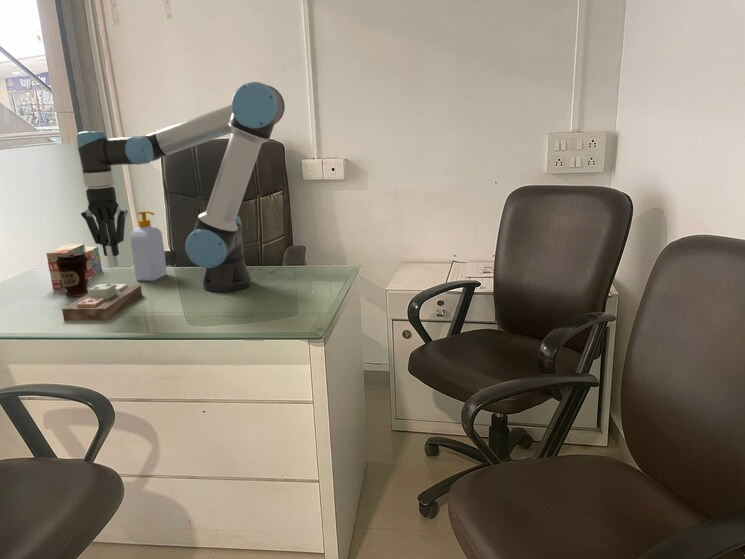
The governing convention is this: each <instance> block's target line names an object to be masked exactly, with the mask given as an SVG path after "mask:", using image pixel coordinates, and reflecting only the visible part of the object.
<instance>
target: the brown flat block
mask: <svg viewBox="0 0 745 559" xmlns="http://www.w3.org/2000/svg"><path fill="white" fill-rule="evenodd" d="M142 296H143V292H142V285H141V284H140V285H139V284H136V285H135V284H133V285H132V284H131V285H129V284H127V288H126V289H124V290H123V291H121V292H116V295H114V296H113V297H111V298H109V299H104V301H105V302H104V303H102V304H101V305H99V306H98V307H77V304H78V303H80V302H81V301H83V300H85V299H87V298H91V297H90V292H89V294H86V295H83V296H82V297H79V298H78V299H76V300H75V301H74V302H71V303H70V304H67V305H65V306H64V307H62V308H61V311H62V317H63V321H90V320H91V321H96V320H97V321H107V320H109V319H110V318H112V317H113V316H115V315H116V314H118V313H119V312H120V311H122V310H123V309H125V308H126V307H128V306H129V305H131V304H132V303H133V302H135V301H136V300H137V299H139V298H140V297H142Z"/></svg>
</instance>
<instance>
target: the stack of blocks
mask: <svg viewBox="0 0 745 559" xmlns="http://www.w3.org/2000/svg"><path fill="white" fill-rule="evenodd" d="M76 252H82V253H84V255H85V256H86V257H87V258H88V261H87V270H88V278H89V279H91V278H92V277H94V276H95V275H98V274H99V272H100V273H102V272H103V268H102V262H101V255H100V252H99V246H85V244H84V243H75V244H74V243H72V244H71V243H69V244H67V243H66V244H63V245H62V246H60V247H57V248H55V249H53V250H51V251H48V252H46V259H47V266H48V270H49V273H50V279H51V287H52V289H61V290H62V289H66V288H65V287H64V286H63V282H62V279H61V276H60V272H59V266H58V265H57V263H56V261H57V259H58V255H60V254H66V253H76ZM97 273H98V274H97ZM93 275H94V276H93ZM91 276H92V277H91ZM90 277H91V278H90Z"/></svg>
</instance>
